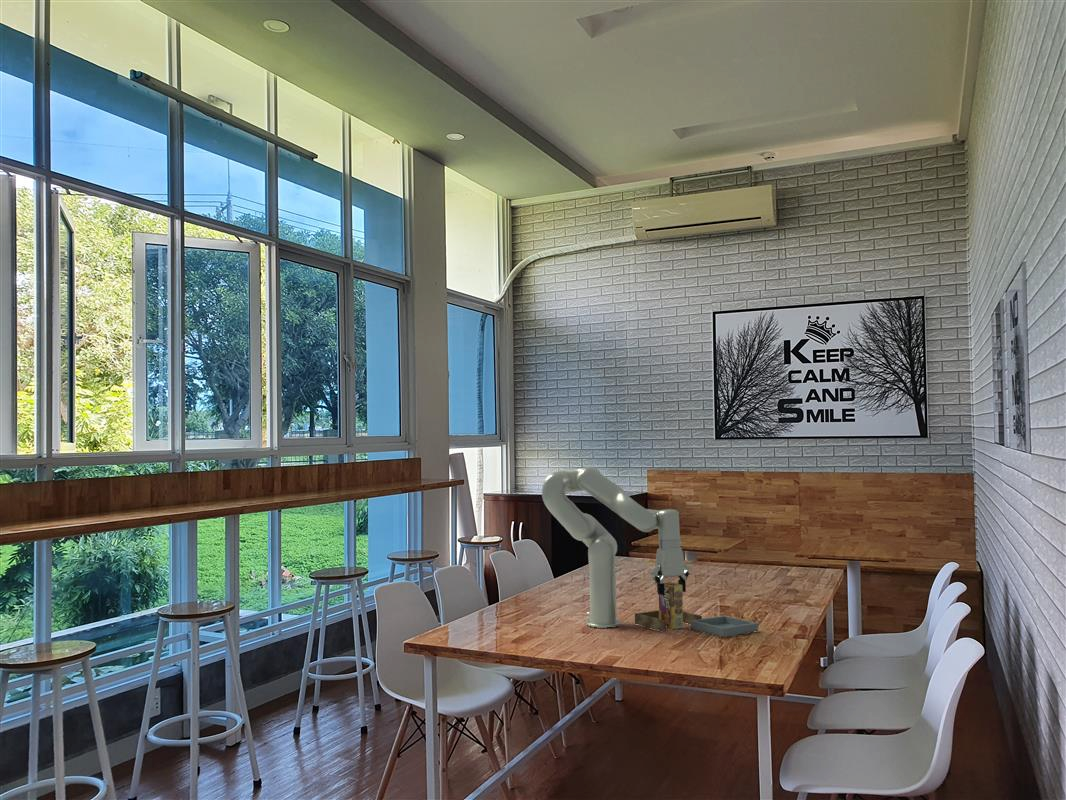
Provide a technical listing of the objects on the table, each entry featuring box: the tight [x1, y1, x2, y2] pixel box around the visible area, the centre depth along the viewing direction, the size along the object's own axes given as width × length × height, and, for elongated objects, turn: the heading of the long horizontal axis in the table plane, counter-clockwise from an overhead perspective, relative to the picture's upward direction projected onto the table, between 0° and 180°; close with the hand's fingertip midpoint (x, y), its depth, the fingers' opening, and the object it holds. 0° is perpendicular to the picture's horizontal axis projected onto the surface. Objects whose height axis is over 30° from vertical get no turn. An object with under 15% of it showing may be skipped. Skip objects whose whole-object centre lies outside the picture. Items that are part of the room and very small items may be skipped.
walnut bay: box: [634, 609, 703, 633], centre depth 291 cm, size 16×17×4 cm
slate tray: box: [690, 615, 759, 638], centre depth 282 cm, size 16×16×3 cm
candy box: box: [658, 581, 684, 630], centre depth 289 cm, size 9×4×15 cm, turn 29°
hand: (671, 593), depth 290 cm, fingers open, 9 cm apart
